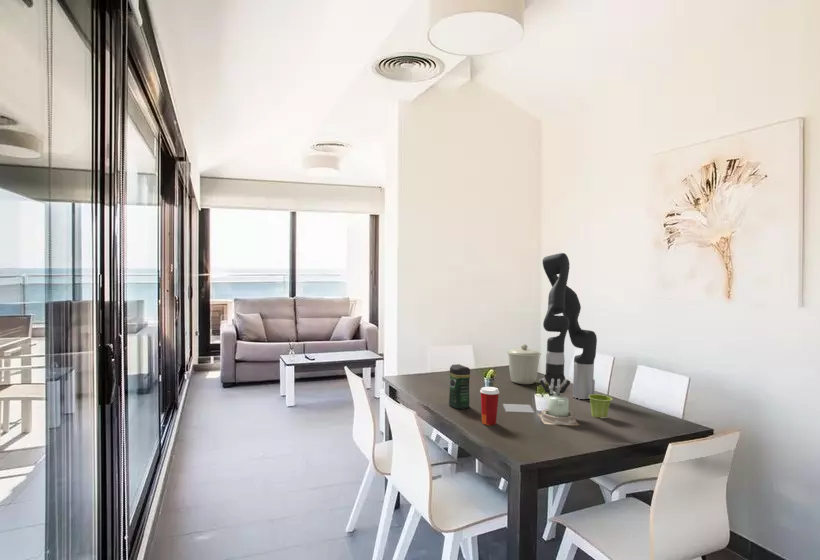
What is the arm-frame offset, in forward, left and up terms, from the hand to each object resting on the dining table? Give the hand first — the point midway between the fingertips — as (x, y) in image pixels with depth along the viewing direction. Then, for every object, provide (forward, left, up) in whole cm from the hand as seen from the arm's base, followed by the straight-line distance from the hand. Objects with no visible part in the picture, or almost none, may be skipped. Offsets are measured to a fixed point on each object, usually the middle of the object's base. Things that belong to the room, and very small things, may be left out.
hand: (553, 402), depth 214 cm
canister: (+3, -60, -6) cm, 60 cm away
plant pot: (-19, +1, -6) cm, 20 cm away
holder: (0, +8, -6) cm, 10 cm away
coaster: (+14, -6, -6) cm, 16 cm away
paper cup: (+29, +15, -6) cm, 33 cm away
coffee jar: (+40, -8, -6) cm, 41 cm away
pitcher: (0, +6, -5) cm, 8 cm away
